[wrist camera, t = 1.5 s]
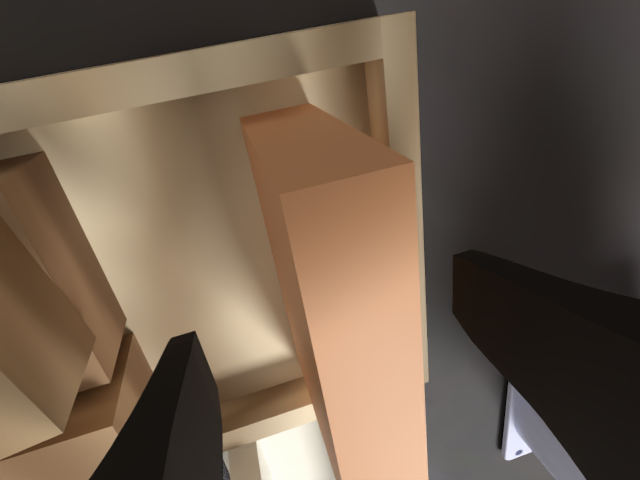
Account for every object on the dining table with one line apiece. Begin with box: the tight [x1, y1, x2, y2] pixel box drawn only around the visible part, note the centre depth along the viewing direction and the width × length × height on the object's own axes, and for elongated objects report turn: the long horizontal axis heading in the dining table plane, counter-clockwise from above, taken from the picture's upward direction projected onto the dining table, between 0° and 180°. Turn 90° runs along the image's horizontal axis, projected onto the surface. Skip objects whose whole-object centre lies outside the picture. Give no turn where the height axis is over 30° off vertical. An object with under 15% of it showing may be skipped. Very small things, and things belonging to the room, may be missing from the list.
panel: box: [239, 103, 428, 480], centre depth 12 cm, size 2×10×7 cm, turn 9°
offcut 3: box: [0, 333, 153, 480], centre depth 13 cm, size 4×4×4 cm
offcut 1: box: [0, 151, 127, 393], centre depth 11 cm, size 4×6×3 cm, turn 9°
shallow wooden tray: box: [0, 11, 429, 452], centre depth 14 cm, size 16×14×2 cm
